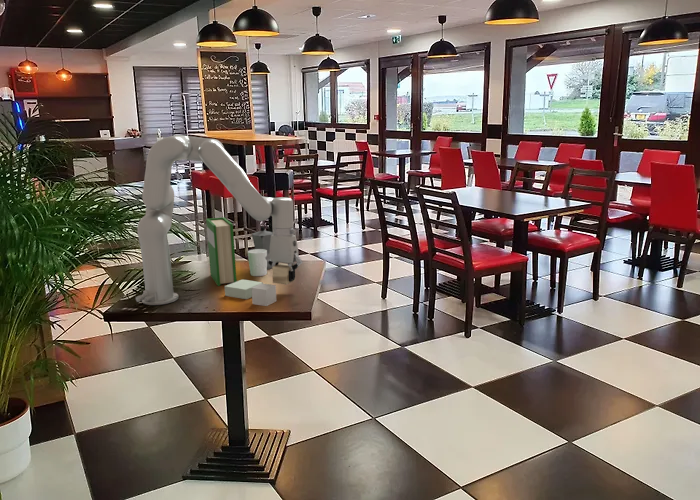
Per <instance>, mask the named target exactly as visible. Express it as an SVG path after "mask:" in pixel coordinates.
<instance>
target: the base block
mask: <svg viewBox="0 0 700 500" xmlns="http://www.w3.org/2000/svg"><path fill="white" fill-rule="evenodd" d="M261 283H263V284H264V282H261V281H255V280H249V279H240V280H237V282H234V283H233V282H231V283H228V284H227V285H224V296H225V297H231V298H237V299H243V300H248V299H252V287H255V286H257V285H259V284H261Z"/></svg>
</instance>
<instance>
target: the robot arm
mask: <svg viewBox="0 0 700 500" xmlns="http://www.w3.org/2000/svg"><path fill="white" fill-rule="evenodd" d="M182 160H187V161H196V162H203V163H204V165H205V166H206V167H207V168H208V169H209V170H210V171H211V172H212V173H213V174H214V176H216V178H218V180H219V181H220V182H221V184H223V186H224V187H225V188H226V189H227V191H228V192H229V193H230V194H231V195H232V196H233V198H234V199H235V200H236V201H237V203H238V204H239V205H240V206H242V208H243V209H244V210H245V212H247V213H248V215H250V217H251V218H252V219H253V220H255V221H259V222H264V221H266V220H268V219H269V218H270V217H272V218H271V219H272V233H273V235H272V236H271V241H270V253H269V254H268V255H267V256H266V257H265V259H266V260H267V261H268V262H269V264H270V265H271V268H272V267H273V266H276V265H278V264H281V263H283V264H288V266H289V269H290V271H289V282H291V281H293V280H295V281H296V270H297V269H298V268H299V266H301V265H302V263H303V259H301V257H300V256H299V247H298V240H297V237H296V235H295V234H297V230H296V229H295V228H294V201H293V199H292V198H291V197H287V196H285V197H283V196H281V197H268V196H262V194H261V193H259V191H258V190H257V189H256V188H255V187H254V185H253V183H252V182H250V180H249V177H248V175H247V174H246V172H245V171H244V168H242V167H241V166H240V165H239V163H237V162H236V160H235V159H234V158H233V157H232V156H231V154H230V153H229V152H228V151H227V150H226V149H225V146H224V145H223V143H222V142H221V141H219V140H218V139H215V138H205V137H197V136H188V135H180V134H177V135H169V136H167V137H164V138H162V139H160V140H158V141H156V142H155V143H154V144H153V145H152V146H151V147H150V149H149V151H148V153H147V157H146V164H145V172H144V178H143V179H144V180H143V181H144V182H143V190H142V194H141V195H142V196H141V197H142V202H143V204H144V205H145V215H144V216H142V218H141V219H140V220H139V221H138V224H137V237H138V238H137V239H138V242H139V247H140V255H141V261H142V262H141V263H142V270H143V281H144V287H145V288H144V289H145V290H143V291H142V292H143V293H142V294H140V295H138V296H135V301H136V302H137V303H139V302H141V303H143V305H147V306H148V305H149V306H161V305H167V304H170V303H173V302H176V301H177V300H178V299H179V294H178V293H177V292H174V284H173V283H174V282H173V274H172V263H171V262H172V261H171V253H170V245H169V240H168V232H169V231H170V229H171V227H172V223H173V215H174V214H173V213H174V205H175V204H174V203H175V192H174V188H173V187H172V185H171V180H172V179H171V178H172V166H173V164H174V163H175V162H176V161H182ZM291 283H292V282H291Z"/></svg>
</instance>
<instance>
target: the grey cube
mask: <svg viewBox="0 0 700 500" xmlns="http://www.w3.org/2000/svg"><path fill="white" fill-rule="evenodd" d="M251 299H252V305H256V306H265V307H268V306H270V305H272V304H273V303H275V302H277V287H276V284H271V283H264V282H263V283H261V284H259V285H257V286H255V287H252V297H251Z"/></svg>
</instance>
